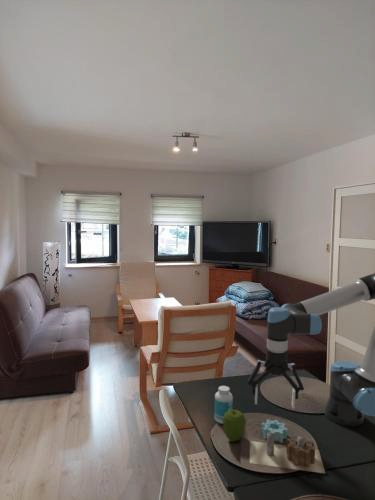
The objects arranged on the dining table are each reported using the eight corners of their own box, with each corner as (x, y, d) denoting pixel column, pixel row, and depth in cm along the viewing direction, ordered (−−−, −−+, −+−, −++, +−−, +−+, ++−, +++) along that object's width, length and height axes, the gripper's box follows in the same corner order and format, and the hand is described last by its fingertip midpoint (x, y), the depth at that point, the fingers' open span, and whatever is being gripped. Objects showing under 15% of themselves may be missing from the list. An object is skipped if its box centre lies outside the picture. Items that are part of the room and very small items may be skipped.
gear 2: (311, 451, 122) (312, 437, 121) (316, 468, 113) (317, 454, 112) (285, 447, 123) (286, 434, 123) (288, 464, 114) (288, 450, 114)
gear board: (318, 453, 123) (319, 430, 122) (325, 477, 111) (326, 452, 110) (249, 444, 127) (250, 422, 127) (249, 467, 115) (250, 442, 115)
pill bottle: (231, 425, 139) (232, 393, 138) (213, 423, 140) (213, 391, 139) (232, 415, 146) (233, 385, 145) (215, 413, 148) (216, 383, 147)
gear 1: (282, 431, 135) (283, 419, 135) (289, 446, 126) (289, 433, 126) (259, 431, 135) (260, 419, 135) (264, 446, 126) (265, 433, 126)
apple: (229, 449, 124) (230, 419, 123) (218, 436, 132) (218, 407, 131) (249, 444, 128) (250, 414, 127) (237, 431, 135) (238, 403, 134)
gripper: (310, 349, 130) (307, 403, 131) (243, 343, 134) (241, 395, 136) (313, 356, 122) (310, 414, 124) (242, 350, 127) (240, 405, 128)
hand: (274, 404), depth 130 cm, fingers open, 13 cm apart
